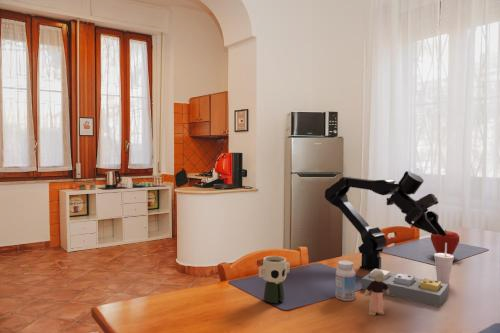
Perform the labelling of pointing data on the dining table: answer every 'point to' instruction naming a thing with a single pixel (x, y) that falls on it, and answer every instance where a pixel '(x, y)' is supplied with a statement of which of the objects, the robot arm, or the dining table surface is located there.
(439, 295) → the button panel
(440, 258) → the smoothie
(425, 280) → the button three
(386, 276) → the button one
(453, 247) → the apple
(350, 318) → the dining table surface
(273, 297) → the character mug
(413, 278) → the button two
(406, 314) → the dining table surface
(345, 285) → the pill bottle
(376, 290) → the grandmother figurine
